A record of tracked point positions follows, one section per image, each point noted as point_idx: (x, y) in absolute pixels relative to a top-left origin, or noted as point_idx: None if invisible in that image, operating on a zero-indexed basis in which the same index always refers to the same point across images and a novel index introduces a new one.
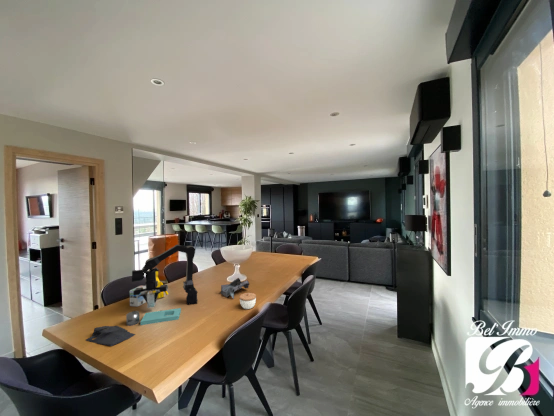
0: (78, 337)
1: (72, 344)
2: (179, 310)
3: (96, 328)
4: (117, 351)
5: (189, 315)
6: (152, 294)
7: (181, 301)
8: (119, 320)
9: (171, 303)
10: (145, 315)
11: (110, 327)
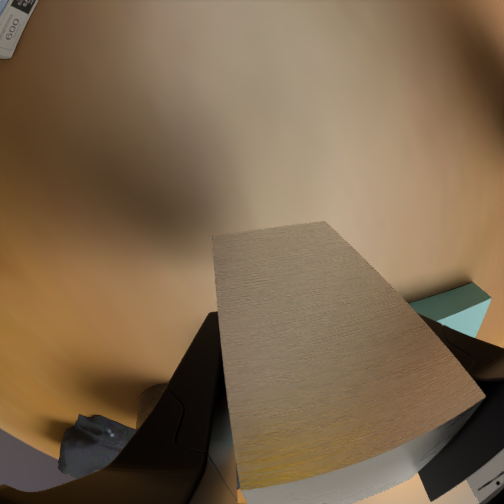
0: (16, 428)
1: (47, 454)
2: (475, 332)
3: (71, 475)
4: (238, 492)
5: (483, 326)
6: (383, 489)
7: (482, 64)
8: (35, 348)
9: (422, 58)
10: None
11: (107, 462)
